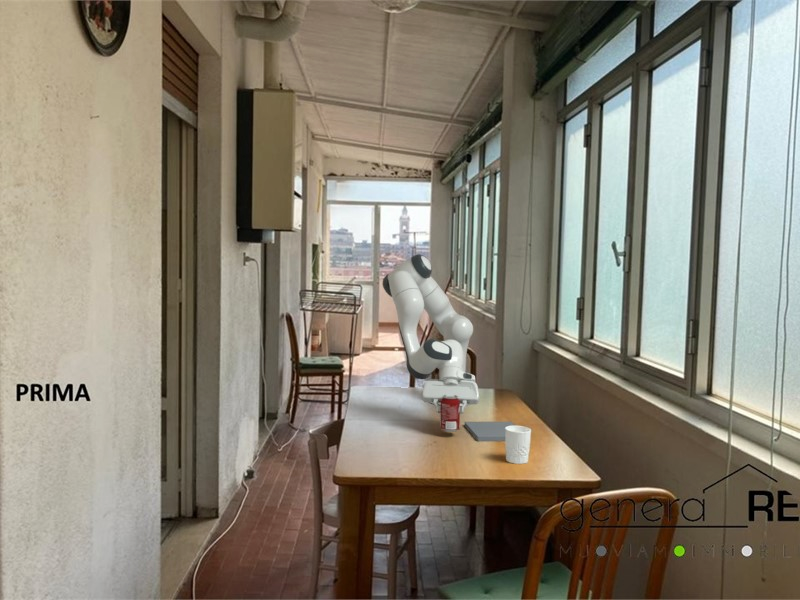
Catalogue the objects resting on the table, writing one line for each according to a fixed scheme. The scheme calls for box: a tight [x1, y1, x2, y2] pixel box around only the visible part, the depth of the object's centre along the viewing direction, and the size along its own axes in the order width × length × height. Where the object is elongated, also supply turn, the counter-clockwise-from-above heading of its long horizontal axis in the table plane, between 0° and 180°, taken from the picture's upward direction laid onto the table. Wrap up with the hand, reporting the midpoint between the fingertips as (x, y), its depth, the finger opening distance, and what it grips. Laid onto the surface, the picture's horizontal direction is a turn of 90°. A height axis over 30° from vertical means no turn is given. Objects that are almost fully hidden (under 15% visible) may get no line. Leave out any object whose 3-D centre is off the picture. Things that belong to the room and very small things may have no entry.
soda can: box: [439, 395, 461, 433], centre depth 214 cm, size 7×7×12 cm
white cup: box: [504, 425, 532, 465], centre depth 188 cm, size 8×8×10 cm
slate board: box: [464, 421, 517, 442], centre depth 219 cm, size 20×18×2 cm
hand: (449, 412), depth 213 cm, fingers closed on soda can, 7 cm apart
